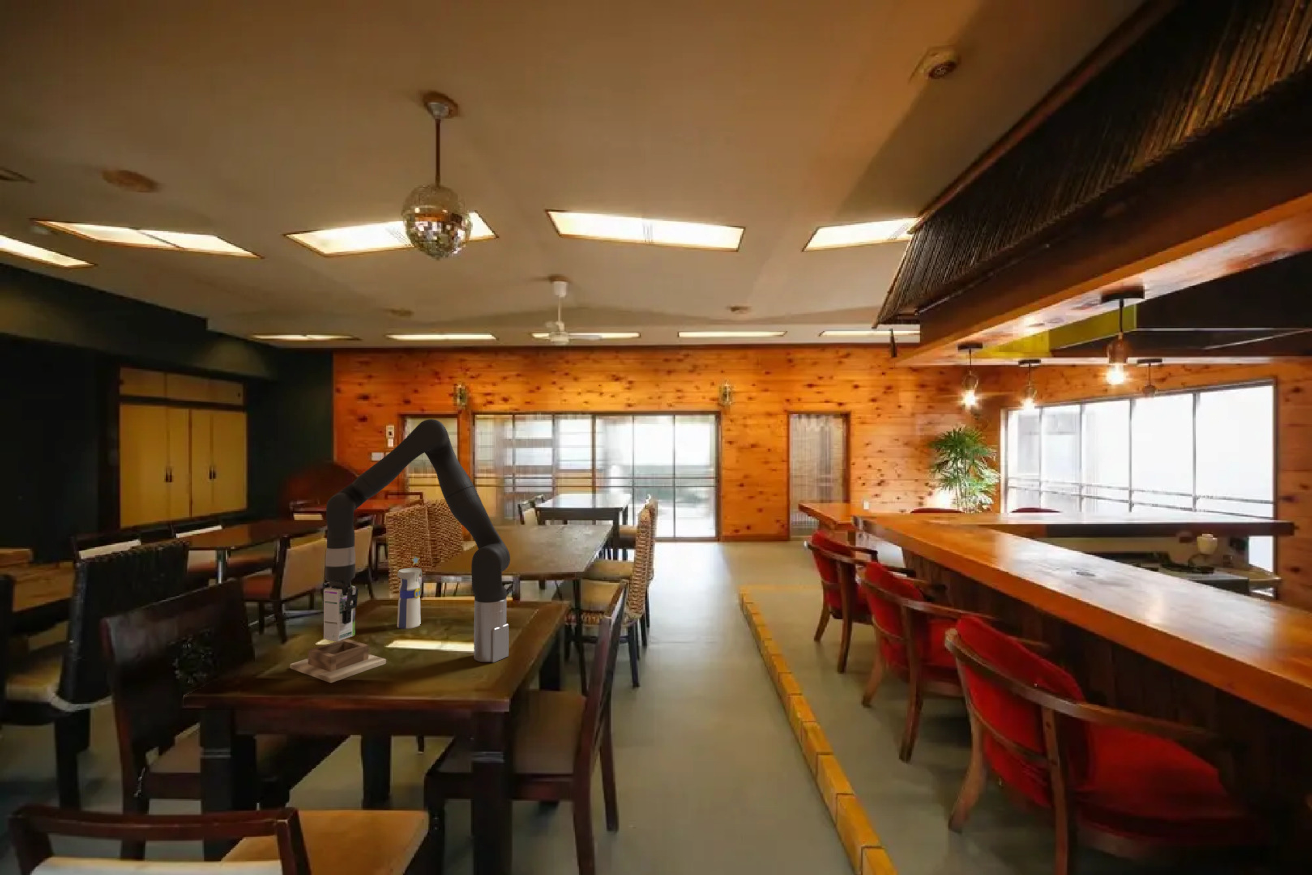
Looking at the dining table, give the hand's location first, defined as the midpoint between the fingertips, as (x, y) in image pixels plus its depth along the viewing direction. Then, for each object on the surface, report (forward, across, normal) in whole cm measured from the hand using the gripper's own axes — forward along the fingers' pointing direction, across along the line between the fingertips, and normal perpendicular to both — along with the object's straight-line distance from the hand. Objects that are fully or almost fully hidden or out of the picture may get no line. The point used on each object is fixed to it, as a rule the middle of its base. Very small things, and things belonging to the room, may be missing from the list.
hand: (339, 621), depth 163 cm
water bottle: (+13, +16, -35) cm, 40 cm away
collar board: (+13, 0, 0) cm, 13 cm away
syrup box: (+5, 0, 0) cm, 5 cm away
